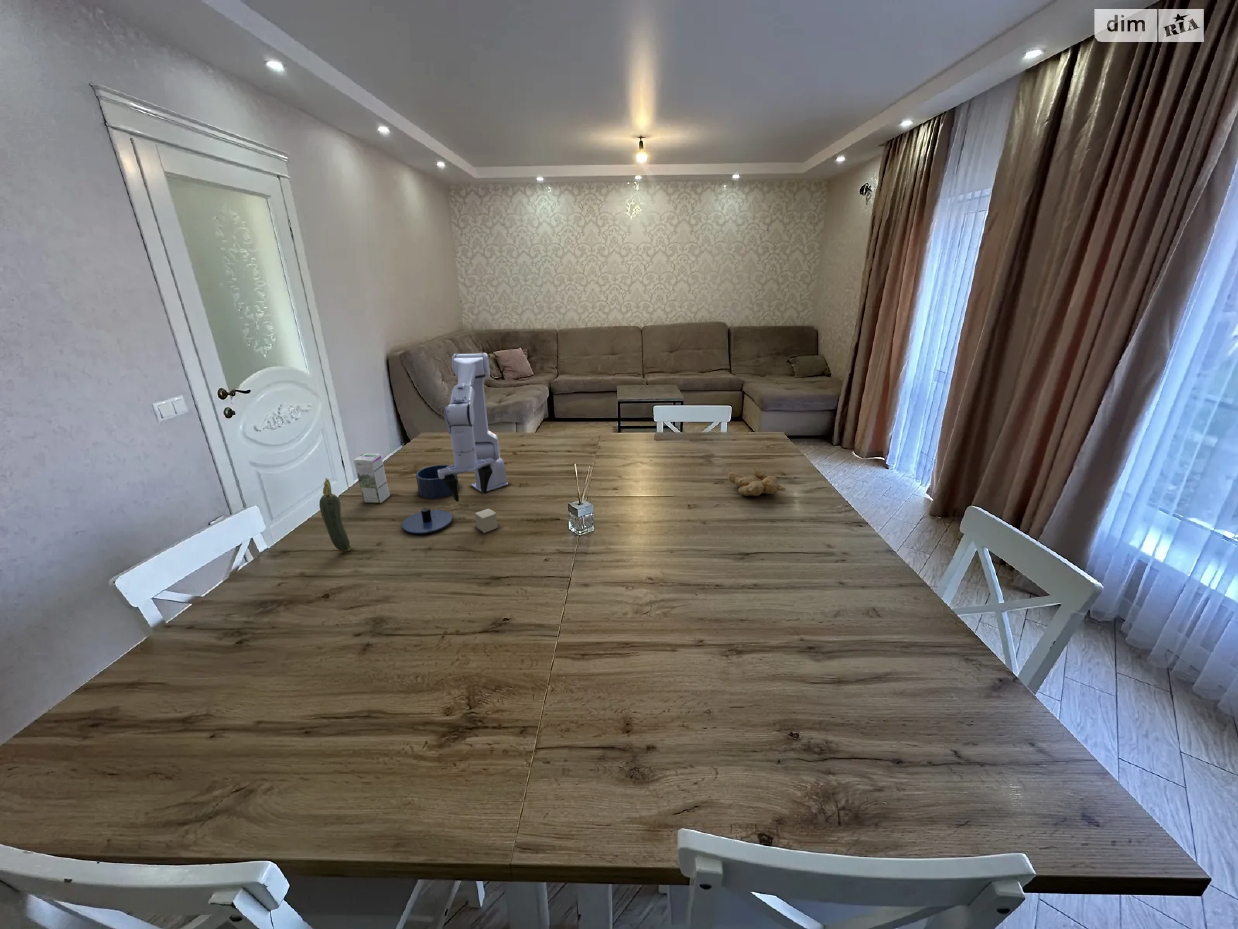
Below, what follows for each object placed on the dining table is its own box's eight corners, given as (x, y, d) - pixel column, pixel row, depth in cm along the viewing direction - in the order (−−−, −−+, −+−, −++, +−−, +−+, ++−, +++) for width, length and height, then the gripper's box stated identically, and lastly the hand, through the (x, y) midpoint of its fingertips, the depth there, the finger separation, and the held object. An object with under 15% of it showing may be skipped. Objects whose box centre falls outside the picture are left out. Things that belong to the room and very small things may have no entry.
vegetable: (343, 558, 119) (324, 484, 112) (328, 556, 120) (308, 483, 113) (355, 548, 123) (338, 477, 116) (340, 547, 124) (322, 475, 117)
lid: (442, 508, 144) (440, 494, 142) (460, 525, 135) (458, 510, 133) (396, 522, 136) (393, 508, 134) (412, 541, 127) (409, 525, 125)
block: (490, 522, 136) (488, 508, 134) (498, 527, 133) (496, 513, 132) (476, 527, 133) (474, 513, 132) (484, 533, 131) (482, 518, 129)
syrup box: (390, 495, 153) (382, 452, 147) (380, 504, 147) (370, 459, 142) (373, 495, 153) (364, 452, 148) (362, 503, 148) (352, 459, 142)
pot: (448, 479, 164) (446, 461, 162) (465, 490, 156) (463, 472, 154) (413, 490, 157) (409, 471, 154) (428, 502, 148) (425, 482, 146)
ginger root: (791, 499, 145) (787, 475, 142) (738, 511, 147) (734, 487, 144) (776, 480, 160) (773, 458, 157) (729, 491, 161) (724, 469, 159)
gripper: (441, 459, 118) (448, 509, 123) (496, 447, 126) (501, 494, 131) (432, 451, 123) (439, 499, 128) (486, 440, 131) (491, 485, 136)
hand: (470, 496), depth 130 cm, fingers open, 7 cm apart
